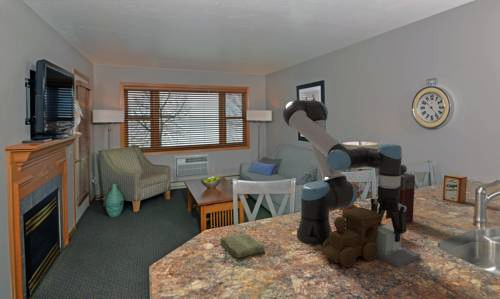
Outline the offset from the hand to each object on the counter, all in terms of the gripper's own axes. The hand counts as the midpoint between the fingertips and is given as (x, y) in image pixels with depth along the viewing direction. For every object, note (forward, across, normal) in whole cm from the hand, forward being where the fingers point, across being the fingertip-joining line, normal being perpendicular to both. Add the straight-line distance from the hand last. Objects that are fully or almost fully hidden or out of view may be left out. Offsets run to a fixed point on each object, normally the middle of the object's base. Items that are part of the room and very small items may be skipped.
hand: (386, 246), depth 108 cm
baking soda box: (+3, +22, -99) cm, 101 cm away
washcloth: (+3, +33, +45) cm, 55 cm away
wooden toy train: (+3, +4, +15) cm, 16 cm away
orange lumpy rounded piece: (+3, +38, -24) cm, 45 cm away
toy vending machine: (+3, +19, -37) cm, 42 cm away
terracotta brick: (+3, +8, -14) cm, 16 cm away
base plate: (+3, 0, 0) cm, 3 cm away
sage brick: (0, 0, 0) cm, 0 cm away
